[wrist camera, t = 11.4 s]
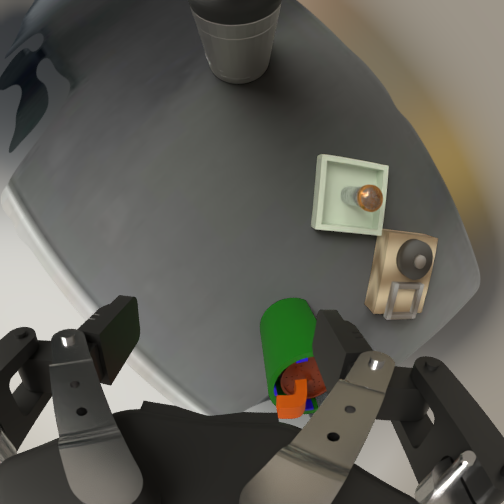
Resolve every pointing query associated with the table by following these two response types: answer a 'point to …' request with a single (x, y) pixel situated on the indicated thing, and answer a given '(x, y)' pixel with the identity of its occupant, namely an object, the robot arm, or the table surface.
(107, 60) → the table surface
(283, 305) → the motor
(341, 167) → the tray
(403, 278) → the pulley block
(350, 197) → the pin
